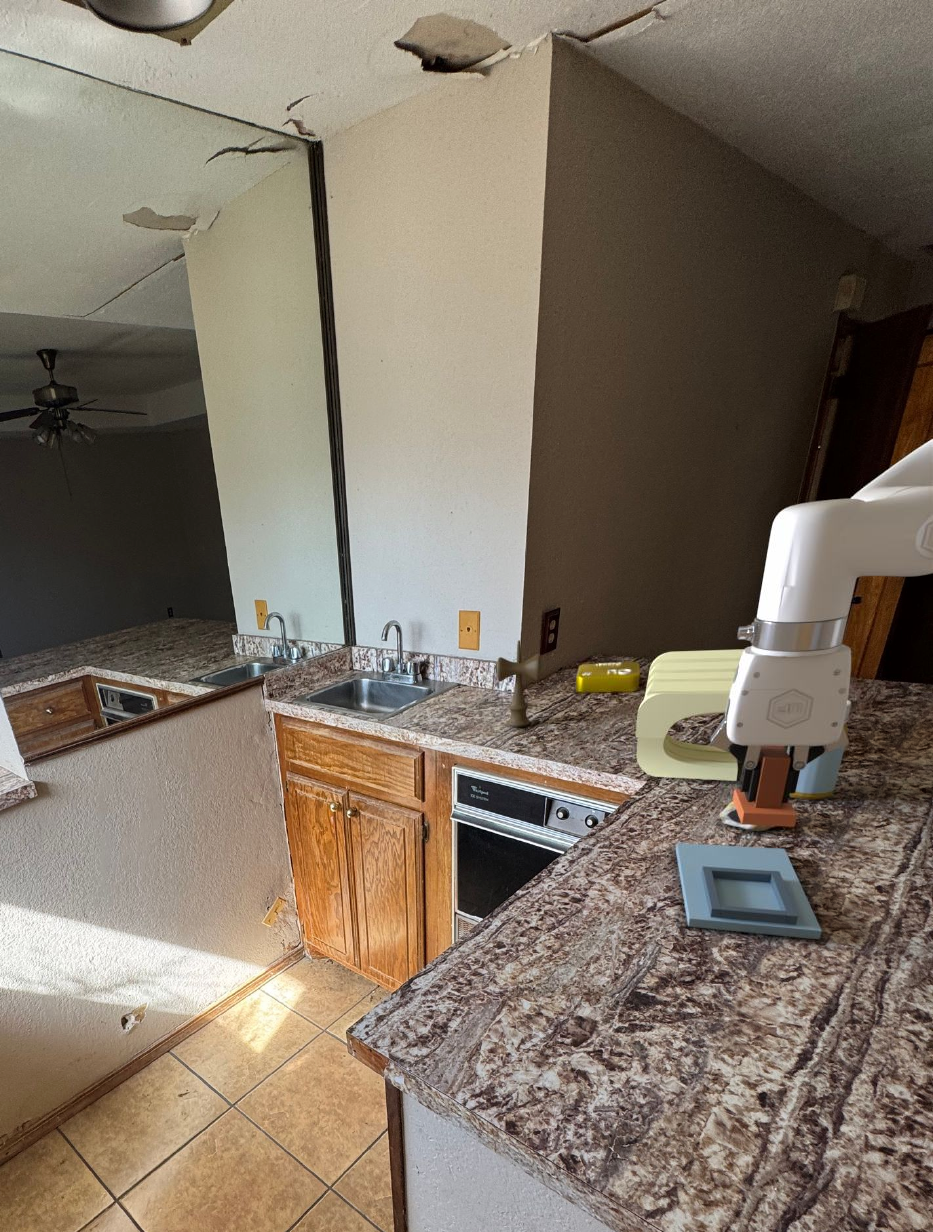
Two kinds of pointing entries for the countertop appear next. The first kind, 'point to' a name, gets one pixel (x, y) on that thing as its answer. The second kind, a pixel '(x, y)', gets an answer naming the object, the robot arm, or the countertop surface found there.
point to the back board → (744, 891)
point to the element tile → (608, 677)
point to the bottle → (821, 772)
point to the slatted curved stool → (685, 713)
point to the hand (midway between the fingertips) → (765, 796)
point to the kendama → (519, 684)
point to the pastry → (738, 819)
